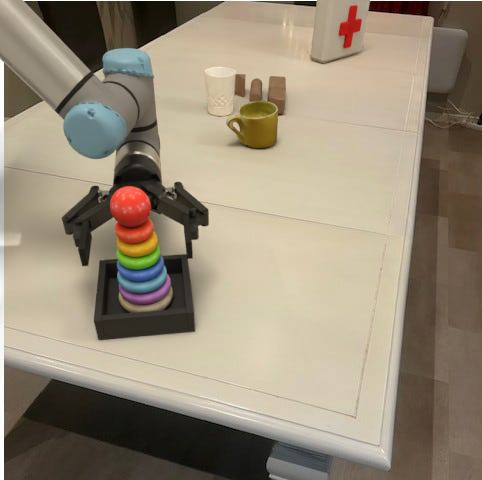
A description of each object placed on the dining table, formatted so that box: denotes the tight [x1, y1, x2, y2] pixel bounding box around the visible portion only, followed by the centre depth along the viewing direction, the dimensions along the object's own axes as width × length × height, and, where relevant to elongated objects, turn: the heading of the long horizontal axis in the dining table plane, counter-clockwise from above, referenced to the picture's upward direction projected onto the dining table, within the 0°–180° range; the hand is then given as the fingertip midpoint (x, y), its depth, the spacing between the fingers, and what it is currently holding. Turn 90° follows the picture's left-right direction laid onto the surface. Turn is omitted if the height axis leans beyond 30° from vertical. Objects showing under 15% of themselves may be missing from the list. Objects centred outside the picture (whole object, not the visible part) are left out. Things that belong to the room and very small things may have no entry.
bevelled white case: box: [310, 0, 371, 64], centre depth 160 cm, size 21×8×20 cm, turn 132°
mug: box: [225, 100, 279, 149], centre depth 113 cm, size 12×10×10 cm
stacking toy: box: [110, 186, 173, 313], centre depth 66 cm, size 8×8×19 cm
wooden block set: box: [235, 73, 287, 115], centre depth 132 cm, size 17×6×18 cm
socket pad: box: [93, 253, 196, 341], centre depth 72 cm, size 14×14×4 cm
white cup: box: [204, 66, 237, 117], centre depth 125 cm, size 8×8×10 cm
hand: (137, 254), depth 63 cm, fingers open, 13 cm apart
